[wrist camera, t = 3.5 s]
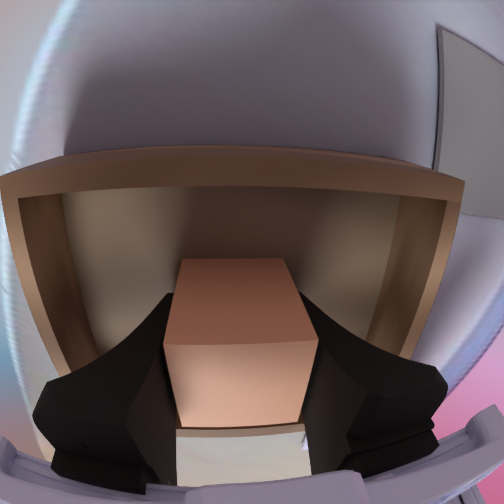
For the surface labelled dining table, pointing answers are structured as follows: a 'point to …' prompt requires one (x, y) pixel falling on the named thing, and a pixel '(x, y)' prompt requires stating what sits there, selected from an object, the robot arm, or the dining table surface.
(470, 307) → the dining table surface
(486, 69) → the slate mat
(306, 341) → the terracotta block
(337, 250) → the walnut box
